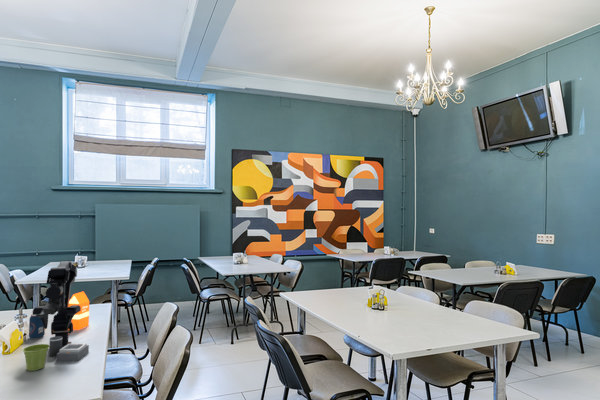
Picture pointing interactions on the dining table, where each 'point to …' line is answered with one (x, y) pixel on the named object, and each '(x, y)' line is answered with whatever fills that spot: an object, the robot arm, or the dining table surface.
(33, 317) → the soda can
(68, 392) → the dining table surface
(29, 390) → the dining table surface
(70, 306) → the robot arm
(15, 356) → the dining table surface
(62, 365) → the dining table surface
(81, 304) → the orange juice
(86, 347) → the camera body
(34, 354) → the plant pot
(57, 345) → the lens
